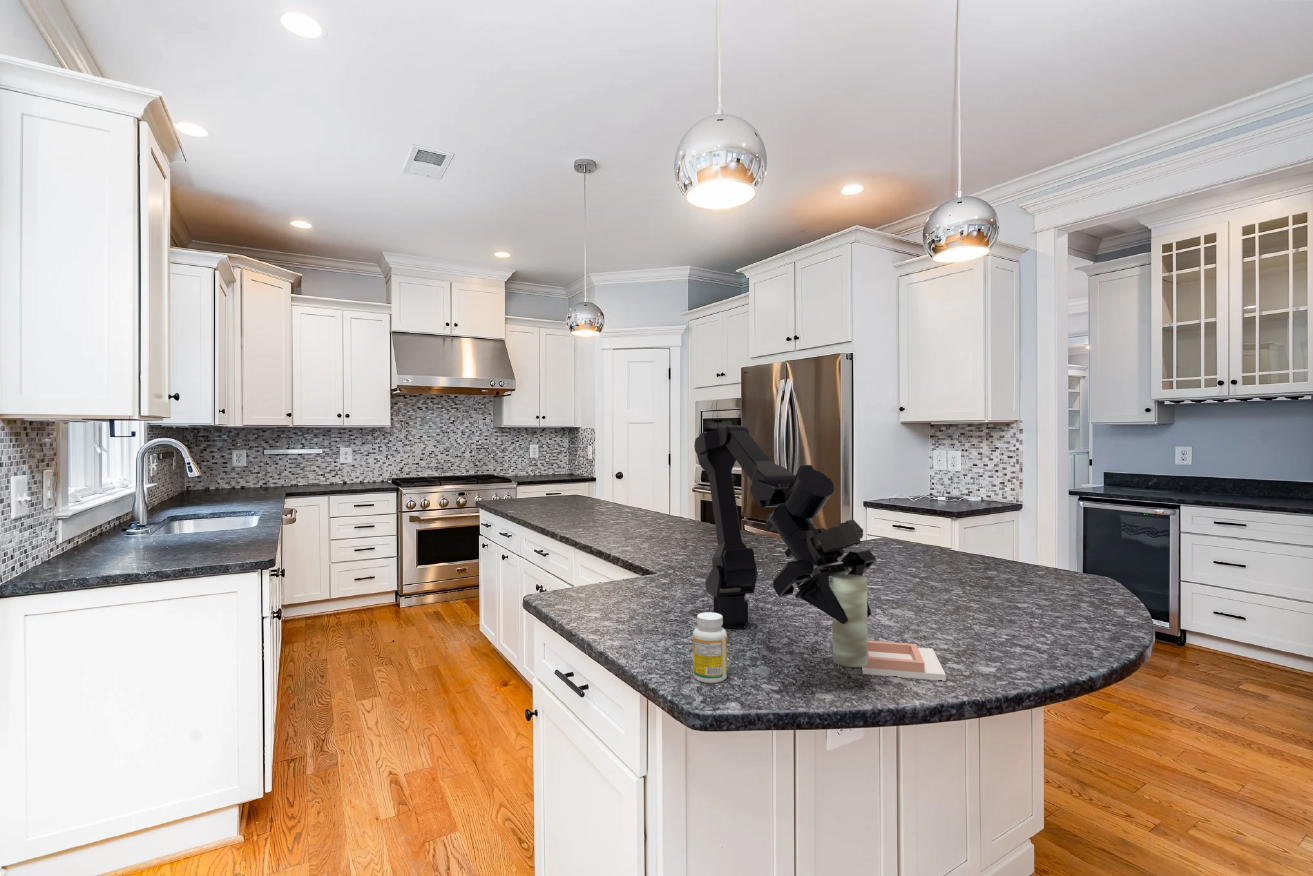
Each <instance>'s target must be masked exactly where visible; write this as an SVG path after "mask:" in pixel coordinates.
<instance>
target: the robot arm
mask: <svg viewBox="0 0 1313 876" xmlns="http://www.w3.org/2000/svg"><path fill="white" fill-rule="evenodd" d="M694 451H695V453H696V455H697V456H696V457H697V460H698V464H699V466H700V467H701V468H702V470H703V471H704V472H705V474H707V477H708V481H709V490H710V496H711V497H710V498H711V504H712V509H713V510H712V511H713V517H714V518H713V519H714V524H715V531H716V539H717V546H716V549H715V550H714V553H713V556H712V559H711V562H712V563H711V564H712V569H711V570H710V571H709V573H708V576H707V577H706V579H705V581H704V582H705V590H706V593H707V594H709V595H710V596H712V597H713V613H718V614H721V615H722V616H723V624H722V626H721V627H722V628H724V629H725V628H728V629H738V630H739V629H740V630H743V629H746V626H747V625H748V624H749V622H750V620H751V618H750V616H751V614H750V613H751V612H750V611H751V610H750V601H751V600H750V599H747V597H748V596H747V595H749V594H754V593H755V590H756V584H757V580H758V567H757V564H756V559H755V552H754V550H753V548H752V547H747V545H746V544H745V542H744V541H743V538H742V531H741V524H740V519H739V512H738V506H737V505H738V504H737V498H736V493H735V485H734V480H733V472H732V471H733V468H734V466H735V463H736V462H737V464H738V465H739V466H740V467H741V468H742V470H743V471H744V473H745V474H746V475H747V477H748V478H749V480H750V484H749V492H750V493H751V496H752V497H753V499H754V501H755V503H756V504H757V506H759V507H760V508H773V507H775V508H774V510H773V512H772V513H769V514H767V515H766V518H767V519H766V523H765V530H766V531H767V532H770V531H774V530H776V532H777V534H778V535H779V536H780V538H781V540H782V541H783V543H784V544H785V547H787V549H786V550H785V551H784V554H785V555H786V557H787V558H789V559H790V558H794V560H792V561H788V562H786V564H785V565H784V566H783V567H782V568H781V569H780V570H779V571H778V573H777V574H776V575H775V576H774V577H773V579H772V588H773V590H774V592H775V593H776V595H777V596H778V598H784V597H788V596H792V595H793V594H794V589H795V587H794V585H795V584H796V586H797V589H798V591H797V592H796V594H795V595H794V597H795V598H796V599H797V600H798V599H801V600H803V601H804V602H806V603H808V604H810V605H811V606H813V607H815V608H816V609H819V611H822V612H823V613H825V614H826V615H828V616H829V617H831V618H834V619H836V620H837V621H839V622H840V623H842V624H845V623H846V622H848V618H847V616H846V614H845V612H844V610H843V608H842V607H841V605H840V603H839V601H838V600H837V598H836V596H835V595H834V593H833V591H832V587H830V577H832V576H834V575H839V574H852V575H859V576H863V575H864V573H866V572H867V571H868V570H869V569H870V568H871V567H872V566H873V565H874V564H875V563H877V558H876V557H875V556H874V554H873V553H872V552H871V550H870V549H867V548H866V549H865V548H861V549H860V548H859V549H855V550H850V551H848V552H847V553H846V555H844V554H845V550H844V549H848V548H849V547H852V546H859V545H861V544H862V541H861V539H863V537H864V529H863V528H862V527H861V526H860V524H859V523H858V522H856V521H855V520H854V519H850V520H849V519H848V520H846V521H845V522H840V523H839V524H838V525H835V526H832V527H830V528H828V529H826V528H825V527H823V528H821V527H820V528H818V527H817V526H816V525H815V523H814V521H812V519H814V518H816V517H817V516H818V515H819V513H820V511H821V510H822V509H823V507H824V506H825V504H826V503H827V502H828V500H829V499H830V497H831V496H832V494H833V493H834V490H835V485H834V482H833V481H832V479H831V478H829V477H828V476H827V475H826V474H824V473H822V472H820V471H818V470H816V469H814V467H813V465H812V464H806V465H805V464H804V465H803V464H800V465H799V467H798V469H797V472H796V474H795V473H792V471H790V470H789V469H787V468H786V467H783V466H782V465H779V464H776V463H774V462H773V461H772V460H771V459H770V458H769V456H768V455H766V453H765V452H764V450H762V449H761V447H760V446H759V445H758V443H757V442H756V441H755V440H754V439H753V437H752V436H751V435H750V431H749V429H748V428H747V427H746V426H744V425H723V426H721V427H719V428H718V429H715V430H714V429H713V430H710V431H703V432H701V433H699V436H697V437H696V438H695V440H694ZM843 555H844V557H842V556H843ZM840 557H842V559H841V560H840V561H839V558H840ZM871 615H872V611H871V608H870V605H869V601H868V600H867V618H870V616H871Z"/></svg>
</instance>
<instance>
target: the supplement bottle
mask: <svg viewBox="0 0 1313 876" xmlns="http://www.w3.org/2000/svg"><path fill="white" fill-rule="evenodd" d="M696 624H697V627H695V628H694V630H693V631H692V672H693V674H692V676H693V677H694V679H695V680H697V681H699V682H700V683H701V682H702V683H707V684H718V683H721V682H723V681H725V680H726V678H727V676H728V634H727V633H728V632H727V631H726V629H725V628H724V627H721V626H722V624H723V616H722V615H721V614H718V613H714V612H710V611H709V612H708V611H707V612H705V611H704V612H701V613H698V614H697V616H696Z"/></svg>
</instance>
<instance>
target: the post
mask: <svg viewBox="0 0 1313 876" xmlns="http://www.w3.org/2000/svg"><path fill="white" fill-rule="evenodd" d="M831 578H832V579H831V582H832V583H831V585H832V586H831V590H832V591H833V593H834V595H835V596H836V598H837V600H838V601H839V603H840V605H841V607H842V608H843V610H844V612H845V614H846V616H847V618H848V622H846V623H845V624H842V623H840V622H839V621H837V620H836V619H834V618H832V617H831V618H832V661H833V662H834V663H835V664H837V665H840V666H844V667H849V668H862V666H865V665H867V663H868V657H867V640H868V617H867V601H868V578H867V577H865V576H863V575H862V576H859V575H852V574H839V575H834V576H831Z"/></svg>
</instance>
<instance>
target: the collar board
mask: <svg viewBox="0 0 1313 876" xmlns="http://www.w3.org/2000/svg"><path fill="white" fill-rule="evenodd" d="M867 657H868V663H867V665H865V666H861V669H862V674H863V675H872V676H883V677H892V676H897V677H896V678H903V679H904V678H906V679H918V680H927V681H929V680H930V681H938V680H942V681H941V682H947V681H946V680H947V676H946V675H947V674H946V673H945V671H944V668H943V666H942V664H941V662H940V660H939V658H938V657H937V655H936V653H935V651H934V648H931V647H930V648H929V647H918V644H916V643H906V642H904V643H903V642H892V641H881V640H879V641H878V640H869V639H867Z"/></svg>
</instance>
